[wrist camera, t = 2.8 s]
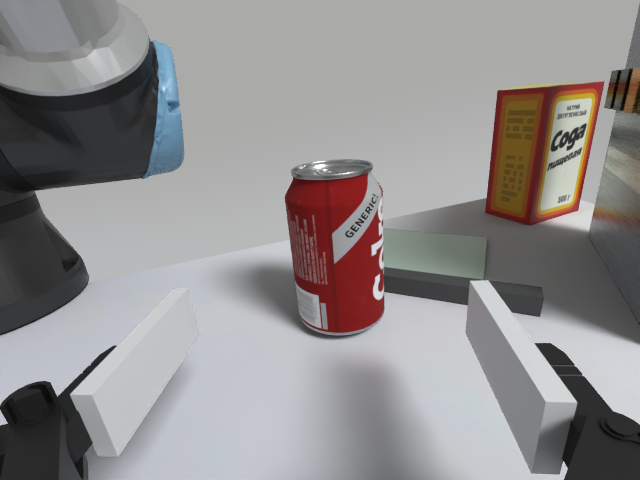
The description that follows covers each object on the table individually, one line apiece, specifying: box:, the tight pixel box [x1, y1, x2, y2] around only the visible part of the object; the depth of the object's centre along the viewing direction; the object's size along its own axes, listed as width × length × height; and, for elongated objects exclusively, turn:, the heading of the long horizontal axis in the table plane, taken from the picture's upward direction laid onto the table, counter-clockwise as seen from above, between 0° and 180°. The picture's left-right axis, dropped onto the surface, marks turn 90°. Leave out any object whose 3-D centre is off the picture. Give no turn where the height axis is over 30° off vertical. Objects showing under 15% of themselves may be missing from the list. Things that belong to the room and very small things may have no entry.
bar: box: [384, 267, 543, 316], centre depth 30 cm, size 20×2×2 cm, turn 64°
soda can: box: [285, 159, 384, 335], centre depth 26 cm, size 7×7×12 cm
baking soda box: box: [485, 82, 604, 225], centre depth 44 cm, size 10×6×16 cm
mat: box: [383, 229, 487, 280], centre depth 37 cm, size 12×12×1 cm
